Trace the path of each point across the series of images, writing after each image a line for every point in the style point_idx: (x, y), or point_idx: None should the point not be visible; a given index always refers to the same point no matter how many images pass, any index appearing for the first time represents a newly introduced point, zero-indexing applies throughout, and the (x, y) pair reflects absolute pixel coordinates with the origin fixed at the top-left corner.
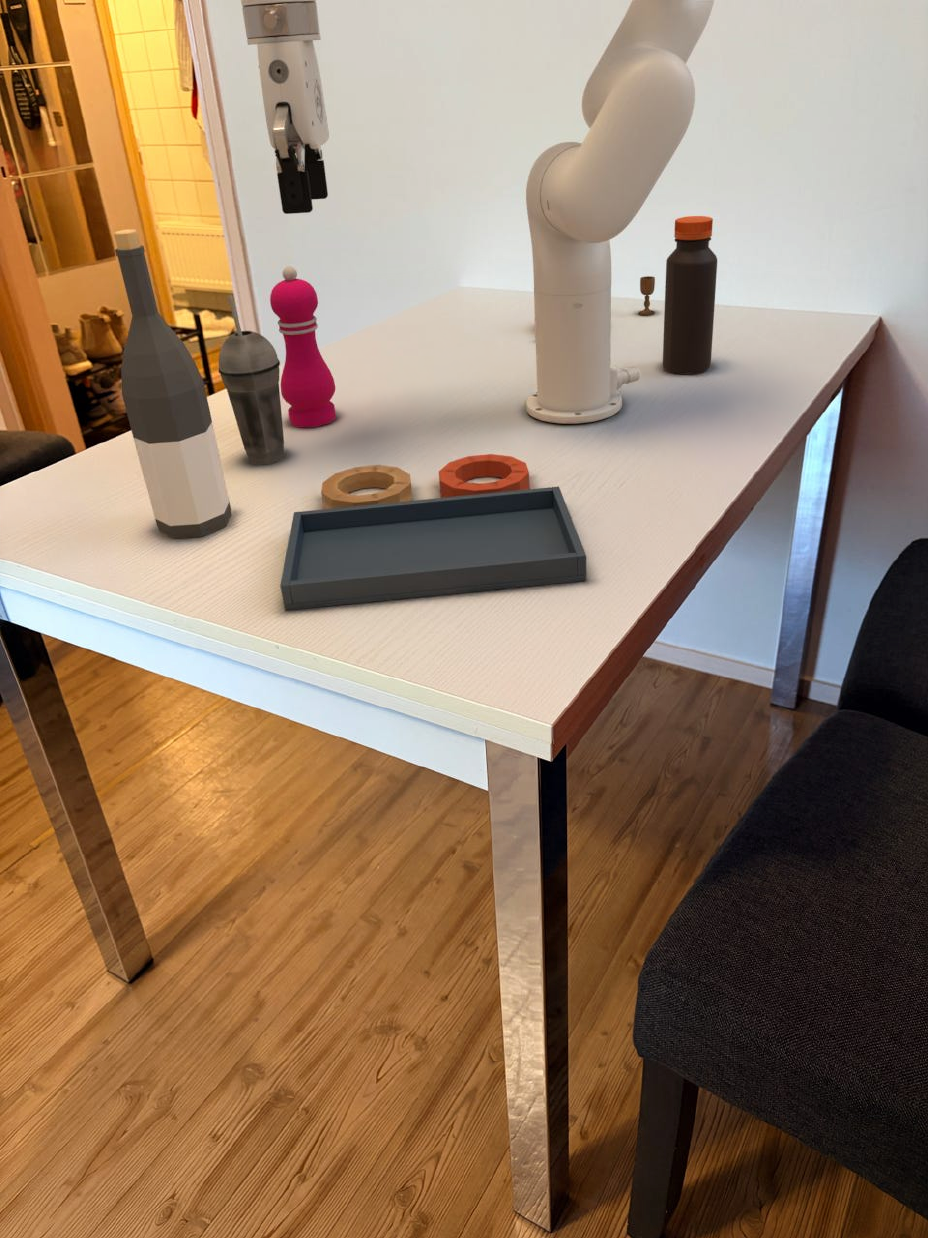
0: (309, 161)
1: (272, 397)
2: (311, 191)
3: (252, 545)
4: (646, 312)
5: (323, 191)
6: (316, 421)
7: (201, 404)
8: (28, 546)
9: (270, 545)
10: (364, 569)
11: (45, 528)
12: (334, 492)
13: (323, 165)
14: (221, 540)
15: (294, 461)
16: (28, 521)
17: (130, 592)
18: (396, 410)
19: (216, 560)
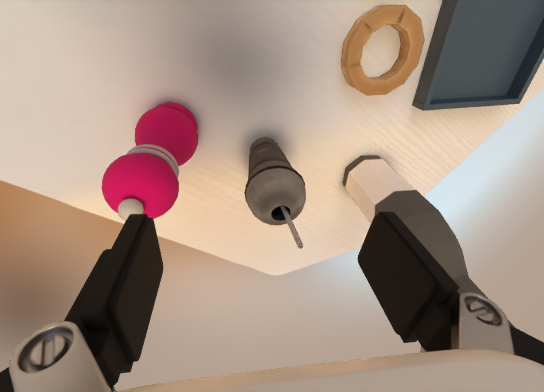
0: (117, 344)
1: (285, 160)
2: (153, 259)
3: (411, 133)
4: None
5: (148, 230)
6: (194, 120)
7: (424, 201)
8: (356, 243)
9: (417, 122)
10: (500, 48)
11: (337, 244)
12: (392, 82)
13: (107, 292)
14: (395, 154)
15: (277, 127)
16: (325, 253)
17: (432, 185)
18: (143, 27)
19: (420, 151)
